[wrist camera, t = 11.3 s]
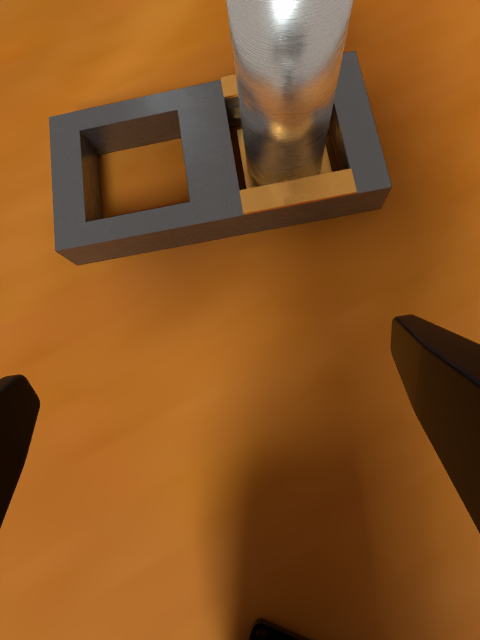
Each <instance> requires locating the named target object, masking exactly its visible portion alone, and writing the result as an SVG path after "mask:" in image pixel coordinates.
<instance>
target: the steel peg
mask: <svg viewBox="0 0 480 640" xmlns="http://www.w3.org/2000/svg"><path fill="white" fill-rule="evenodd" d="M352 5H353V0H227V8H228V17H229V25H230V33H231V41H232V49H233V57H234V65H235V73H236V82H237V90H238V98H239V106H240V114H241V122H242V130H243V138H244V147H245V155H246V163H247V168H248V171H249V173H250V175H251V176H252V178H253V179H254V180H255V181H256V182H257V183H258V184H260V185H261V186H264V185H269V184H274V183H279V182H284V181H289V180H295V179H300V178H305V177H310V176H315V175H317V174H318V172H319V170H320V168H321V164H322V160H323V155H324V150H325V144H326V139H327V134H328V129H329V124H330V119H331V113H332V108H333V103H334V98H335V93H336V88H337V82H338V77H339V72H340V67H341V62H342V57H343V52H344V46H345V41H346V36H347V31H348V26H349V21H350V15H351V10H352Z"/></svg>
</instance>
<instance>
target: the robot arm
mask: <svg viewBox="0 0 480 640" xmlns="http://www.w3.org/2000/svg"><path fill="white" fill-rule="evenodd" d="M391 352H392V356H393V359H394V361H395V364H396V366H397V369H398V371H399V374H400V377H401V379H402V382H403V384H404V387H405V389H406V392H407V394H408V397H409V400H410V402H411V405H412V407H413V409H414V411H415V413H416V415H417V417H418V419H419V421H420V423H421V425H422V427H423V429H424V431H425V432H426V434H427V436H428V438H429V440H430V442H431V444H432V445H433V447H434V449H435V451H436V453H437V455H438V457H439V459H440V460H441V462H442V464H443V466H444V468H445V470H446V472H447V473H448V475H449V477H450V479H451V481H452V483H453V485H454V486H455V488H456V490H457V492H458V494H459V496H460V498H461V499H462V501H463V503H464V505H465V507H466V509H467V511H468V512H469V514H470V516H471V518H472V520H473V522H474V524H475V525H476V527H477V529H478V531H479V533H480V344H478V343H476V342H473V341H471V340H469V339H467V338H464V337H462V336H460V335H458V334H455V333H453V332H451V331H449V330H446V329H444V328H442V327H440V326H437V325H435V324H433V323H431V322H428V321H426V320H424V319H422V318H419V317H417V316H415V315H403V316H397V317H395V318H394V319H393V321H392V331H391ZM39 408H40V400H39V398H38V396H37V394H36V393H35V391H34V389H33V388H32V386H31V385H30V383H29V382H28V380H27V378H26V377H25V376H23V375H20V374H19V375H12V376H6V377H3V378H2V379H0V528H1V525H2V523H3V520H4V517H5V515H6V512H7V509H8V507H9V504H10V501H11V499H12V496H13V493H14V491H15V488H16V486H17V483H18V480H19V478H20V475H21V472H22V469H23V467H24V464H25V460H26V457H27V454H28V450H29V446H30V442H31V439H32V435H33V431H34V427H35V423H36V420H37V416H38V412H39ZM258 629H263V630H264V631H265V632H266V633H265V634H264V635H259V634H258V633H257V630H258ZM248 640H309V639H307V638H305V637H303V636H300V635H298V634H296V633H294V632H292V631H289V630H287V629H285V628H283V627H280V626H278V625H276V624H274V623H271V622H269V621H267V620H265V619H257V620H256V621H255V622H254V623H253V625H252V628H251V632H250V635H249V638H248Z"/></svg>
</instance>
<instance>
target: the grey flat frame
mask: <svg viewBox="0 0 480 640" xmlns="http://www.w3.org/2000/svg"><path fill="white" fill-rule="evenodd" d="M220 78H221V80H218V81H213V82H209V83H204V84H200V85H195V86H190V87H186V88H181V89H177V90H172V91H167V92H163V93H158V94H153V95H149V96H144V97H140V98H135V99H130V100H126V101H121V102H117V103H112V104H107V105H103V106H98V107H94V108H89V109H84V110H80V111H75V112H71V113H66V114H61V115H57V116H52V117H49V125H50V147H51V169H52V190H53V212H54V233H55V251H56V252H57V253H59V254H61V255H62V256H64V257H65V258H67V259H68V260H70V261H71V262H73V263H74V264H76V265H82V264H87V263H93V262H98V261H104V260H109V259H114V258H120V257H125V256H130V255H136V254H141V253H146V252H152V251H157V250H162V249H168V248H173V247H178V246H184V245H189V244H194V243H200V242H205V241H210V240H216V239H221V238H226V237H232V236H237V235H242V234H248V233H253V232H258V231H264V230H269V229H275V228H280V227H285V226H291V225H296V224H301V223H307V222H312V221H317V220H323V219H328V218H333V217H339V216H344V215H349V214H355V213H360V212H365V211H371V210H376V209H380V208H381V207H382V205H383V203H384V201H385V199H386V197H387V195H388V193H389V191H390V190H391V188H392V185H391V182H390V178H389V174H388V170H387V167H386V163H385V159H384V155H383V152H382V148H381V144H380V140H379V137H378V133H377V129H376V126H375V122H374V118H373V114H372V111H371V107H370V103H369V99H368V96H367V92H366V88H365V85H364V81H363V77H362V73H361V70H360V66H359V62H358V58H357V55H356V51H352V52H347V53H343V57H342V62H341V67H340V72H339V77H338V82H337V88H336V93H335V98H334V103H333V108H332V113H331V119H330V124H329V129H328V130H329V134H330V138H331V143H332V147H333V151H334V155H335V160H336V164H337V168H338V171H335V172H332V170H331V165H330V161H329V157H328V152H327V148H326V144H325V150H324V155H323V160H322V164H321V168H320V170H319V172H318V174H317V175H315V176H310V177H305V178H300V179H295V180H289V181H284V182H279V183H274V184H269V185H264V186H261V185H260V184H258V183H257V182H256V181H255V180H254V179H253V178H252V176H251V175H250V173H249V171H248V168H247V163H246V155H245V147H244V138H243V130H242V129H239V130H237V136H238V142H239V148H240V153H241V159H242V165H243V171H244V176H245V182H246V188H247V189H243V190H240V187H239V182H238V176H237V170H236V164H235V158H234V152H233V146H232V140H231V134H230V127H235V126H240V125H242V122H241V114H240V106H239V98H238V90H237V82H236V74H233V75H228V76H224V77H220ZM177 138H182V146H183V153H184V160H185V168H186V175H187V183H188V190H189V197H190V202H187V203H181V204H176V205H171V206H166V207H161V208H156V209H151V210H146V211H140V212H135V213H130V214H125V215H120V216H115V217H110V218H105V219H103V215H102V202H101V189H100V176H99V163H98V155H100V154H105V153H110V152H115V151H120V150H125V149H129V148H134V147H139V146H144V145H149V144H153V143H158V142H163V141H168V140H173V139H177Z"/></svg>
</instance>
